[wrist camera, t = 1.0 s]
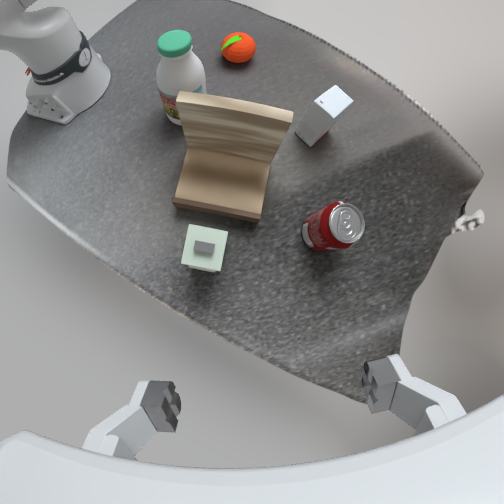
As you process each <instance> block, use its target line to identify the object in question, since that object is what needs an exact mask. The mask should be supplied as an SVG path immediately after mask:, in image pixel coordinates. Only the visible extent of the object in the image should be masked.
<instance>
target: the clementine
mask: <svg viewBox="0 0 504 504" xmlns="http://www.w3.org/2000/svg"><path fill="white" fill-rule="evenodd" d="M255 50H256V44H255V42H254V40H253V39H252V38H251V37H250V36H249V35H247V34H245V33H239V32H237V33H233V34H230V35H228V36H227V37H226V38H225V39H224V40H223V42H222V45H221V51H222V54H223V56H224V57H225V58H226V59H227V60H229V61H231V62H234V63H242V62H245V61H248V60H249V59H250V58H251V57H252V56H253V55H254V53H255ZM221 51H220V52H221Z"/></svg>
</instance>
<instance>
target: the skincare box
mask: <svg viewBox="0 0 504 504" xmlns="http://www.w3.org/2000/svg"><path fill="white" fill-rule="evenodd" d="M352 103H353V100H352V99H351V98H350V97H349V96H348V95H346V94H345V93H344V92H343V91H342V90H341V89H340V88H339V87H338V86H337V85H334V86H333V87H332V88H330V89H329V90H327V91H326V92H324V93H323V94H322V95H321V96H320V97H318V98H317V99H316V100H315V101H314V102H313V103H312V105H311V106H310V108H309V110H308V111H307V113H306V115H305V116H304V118H303V119H302V121H301V123H300V124H299V126H298V128H297V129H296V131H295V133H296V134H297V135H298V136H299V137H300V138H301V139H302V140H304V141H305V142H306V143H307V144H308V145H309V146H310V147H311V146H312V145H313V144H314V143H315V142H316V141H317V140H319V139H320V138H321V137H322V136H323V135H324V134H325V133H326V132H328V131H329V130H330V128H331V127H332V126H333V125H334V124H335V123H336V121H337V120H338V119H339V118H340V117H341V116H342V114H343V113H344V112H345V111H346V110H347V109H348V107H349V106H350V105H351V104H352Z"/></svg>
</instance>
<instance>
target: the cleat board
mask: <svg viewBox="0 0 504 504" xmlns="http://www.w3.org/2000/svg"><path fill="white" fill-rule="evenodd" d="M176 104H177V108H178V112H179V116H180V120H181V124H182V128H183V132H184V135H185V139H186V143H187V147H188V149H187V152H186V156H185V159H184V163H183V167H182V170H181V174H180V178H179V182H178V186H177V190H176V194H175V197H173V198H172V203H173V204H174V205H175V207H177V208H183V209H188V210H193V211H199V212H204V213H209V214H214V215H219V216H224V217H229V218H234V219H239V220H244V221H249V222H253V223H258V222H259V221H260V220H261V215H262V214H261V210H262V205H263V200H264V194H265V189H266V184H267V179H268V174H269V168H270V164H271V162H272V160H273V158H274V156H275V154H276V152H277V150H278V148H279V146H280V144H281V142H282V140H283V138H284V136H285V135H286V133H287V131H288V129H289V127H290V125H291V123H292V117H293V112H291V111H287V110H283V109H279V108H275V107H271V106H266V105H262V104H257V103H253V102H248V101H243V100H237V99H232V98H226V97H220V96H214V95H208V94H201V93H193V92H185V91H179V94H178V96H177V99H176Z"/></svg>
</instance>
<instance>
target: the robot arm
mask: <svg viewBox="0 0 504 504" xmlns="http://www.w3.org/2000/svg"><path fill="white" fill-rule="evenodd" d="M35 1H37V0H0V49H1V50H7V51H10V52H12V53H14V54H15V55H16V56H18V57H19V58H20V59H21V60H22V61H23V62H24V63H25V64H26V65H27V66H28V69H27V70H26V72H27V71H28V73H27V75H29V73H30V71H31V73H32V77H31V79H30V81H29V83H28V86H27V90H26V97H27V98H28V100H29V101H28V105H27V113H28V114H29V115H32V116H35V117H39V118H43V119H47V120H50V121H54V122H57V123H61V124H67V123H69V122H70V121H71V120H72V119H73V118H74V117H75V116H76V115H77V114H79V113H80V112H82V111H84V110H86V109H87V108H89V107H90V106H92V105H93V104H94V103H95V102H96V101H97V100H98V99H99V98H100V97H101V96H102V95H103V94H104V92H105V91H106V89H107V87H108V85H109V82H110V77H111V74H110V70H109V68H108V67H107V66H106V65H105V64H104V63H103V61H102V57H101V56H100V54H96V52H95V51H94V50H93V48H92V47H91V46H90V45H89V43H88V41H87V39H86V37H85V36H84V34H83V33H82V32H81V31H79V30H78V28H77V26H76V24H75V22H74V21H73V18H72V17H71V15H70V13H69V11H68V10H66V9H65V8H62V7H48V8H44V9H41V10H38V11H33V12H25V10H26V8H28V7H29V6H30V5H32V4H33V3H34V2H35ZM26 72H25V73H26ZM62 117H63V118H62ZM363 369H364V372H365V373H364V374H363V375H362V380H361V384H362V390H363V393H364V396H366V397H368V401H367V404H368V407H369V409H370V412H371V414H373V413H378V412H382V411H386V410H390V411H391V412H392V413H394V414H395V415H396V416H398V417H399V418H400V419H402V420H403V421H405V422H406V423H407V424H408V425H410V426H411V427H413V428H414V429H415V430H416V432H415V434H414V436H413V437H410V438H408V439H405V440H402V441H399V442H395V443H392V444H389V445H386V446H382V447H379V448H375V449H371V450H368V451H364V452H359V453H355V454H351V455H346V456H342V457H337V458H331V459H326V460H320V461H315V462H308V463H300V464H292V465H283V466H271V467H257V468H199V467H183V466H172V465H163V464H154V463H147V462H140V461H138V460H137V459H136V458H135V457H134V456H135V455H136V454H137V453H138V452H139V451H140V450H141V449H142V448H143V447H144V446H145V445H146V444H147V443H148V442H149V441H150V440H151V439H152V438H153V437H154V436H155V435H156V434H157V432H175V431H176V427H177V423H178V420H177V418H176V416H178V415H179V414H180V411H181V400H180V397H179V394H178V393H176V392H175V391H174V390H175V386H174V383H173V382H171V381H147V380H141V381H139V382H138V385H137V387H136V389H135V392H134V394H133V396H132V398H131V401H130V403H129V405H125V406H124V407H122V408H121V409H120V410H118V411H117V412H115V413H114V414H112V415H111V416H110V417H108V418H107V419H105V420H104V421H102V422H101V423H100V424H98V425H97V426H96V427H94V428H92V429H91V430H90V432H89V434H88V436H87V438H86V440H85V443H84V445H83V447H82V449H81V448H77V447H74V446H71V445H67V444H64V443H61V442H58V441H55V440H52V439H50V438H47V437H44V436H41V435H39V434H36V433H34V432H31V431H28V430H22V431H20V432H17V433H15V434H13V435H11V436H9V437H8V438H6V439H4V440H2V441H1V442H0V504H504V394H503V395H501V396H499V397H498V398H496V399H494V400H493V401H491V402H489V403H487V404H485V405H484V406H482V407H480V408H478V409H476V410H474V411H472V412H470V413H468V414H466V412H465V411H464V409H463V407H462V406H461V404H460V403H459V401H458V400H457V398H456V397H455V396H454V395H452V394H450V393H447V392H446V391H444V390H442V389H440V388H437V387H435V386H433V385H431V384H429V383H427V382H425V381H423V380H421V379H419V378H417V377H412V376H411V375H410V373H409V371H408V370H407V368H406V366H405V365H404V363H403V362H402V360H401V358H400V357H399V355H398V354H394V355H390V356H386V357H382V358H378V359H374V360H370V361H365V363H364V366H363Z"/></svg>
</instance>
